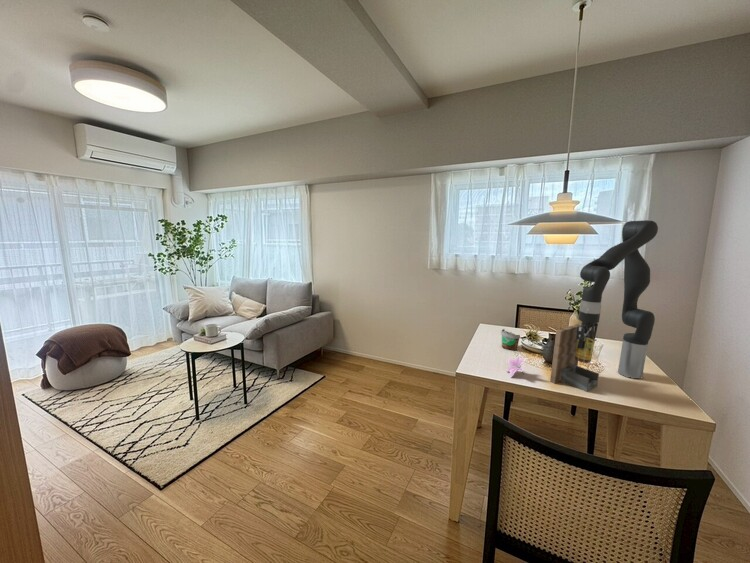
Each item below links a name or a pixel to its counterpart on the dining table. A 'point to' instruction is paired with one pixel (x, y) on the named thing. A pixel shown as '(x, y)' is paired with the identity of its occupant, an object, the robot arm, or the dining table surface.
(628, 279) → the robot arm
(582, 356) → the sauce bottle
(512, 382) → the dining table surface
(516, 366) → the lily
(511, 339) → the food container
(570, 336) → the wavy bookend stand
